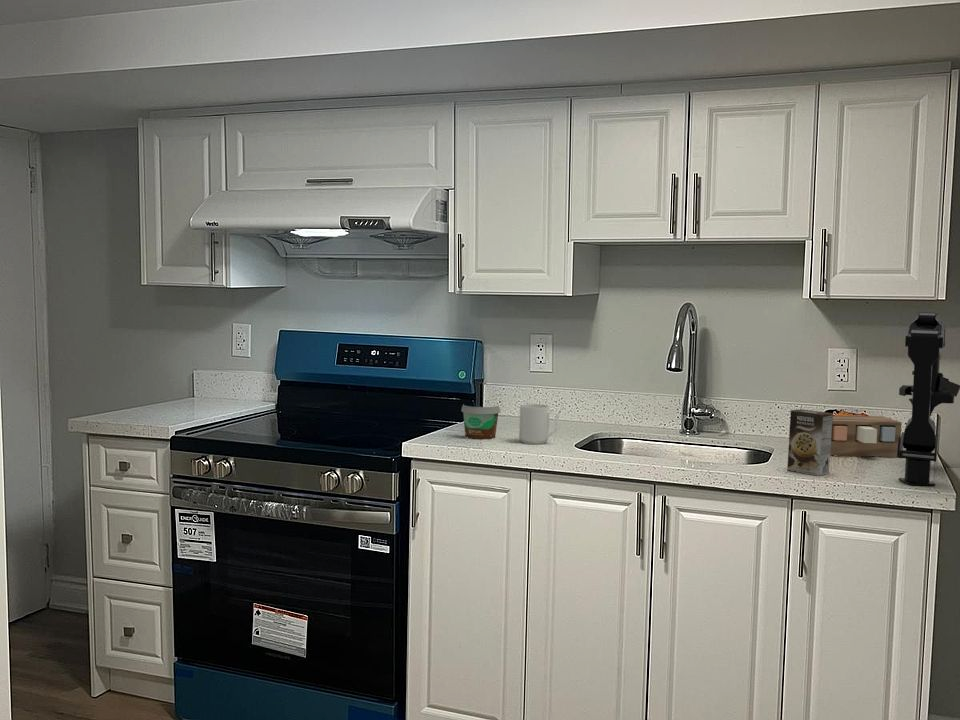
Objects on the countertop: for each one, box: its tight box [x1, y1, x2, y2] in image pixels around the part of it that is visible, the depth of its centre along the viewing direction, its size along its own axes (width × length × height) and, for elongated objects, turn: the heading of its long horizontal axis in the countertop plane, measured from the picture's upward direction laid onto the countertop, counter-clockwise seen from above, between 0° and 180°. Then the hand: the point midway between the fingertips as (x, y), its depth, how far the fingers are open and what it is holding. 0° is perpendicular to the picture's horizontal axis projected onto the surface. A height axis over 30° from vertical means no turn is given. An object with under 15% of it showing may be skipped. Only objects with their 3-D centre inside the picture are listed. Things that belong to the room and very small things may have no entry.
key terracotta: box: [831, 424, 847, 441], centre depth 274 cm, size 6×4×4 cm, turn 1°
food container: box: [461, 403, 501, 440], centre depth 289 cm, size 12×6×10 cm, turn 80°
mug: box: [518, 403, 560, 445], centre depth 284 cm, size 12×9×11 cm
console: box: [830, 414, 903, 458], centre depth 279 cm, size 12×22×10 cm, turn 91°
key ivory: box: [856, 426, 877, 443], centre depth 271 cm, size 6×4×4 cm, turn 1°
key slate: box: [879, 425, 896, 442], centre depth 275 cm, size 6×4×4 cm, turn 1°
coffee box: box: [786, 409, 834, 477], centre depth 247 cm, size 9×6×16 cm
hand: (923, 425), depth 254 cm, fingers closed
